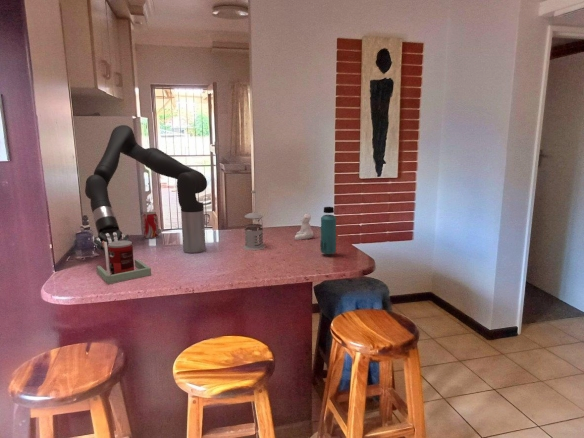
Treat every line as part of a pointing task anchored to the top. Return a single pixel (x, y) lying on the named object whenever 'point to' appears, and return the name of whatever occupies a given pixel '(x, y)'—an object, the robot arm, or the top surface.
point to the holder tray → (141, 272)
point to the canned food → (121, 256)
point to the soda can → (150, 225)
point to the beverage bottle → (328, 232)
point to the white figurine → (304, 229)
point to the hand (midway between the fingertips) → (117, 259)
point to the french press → (254, 231)
